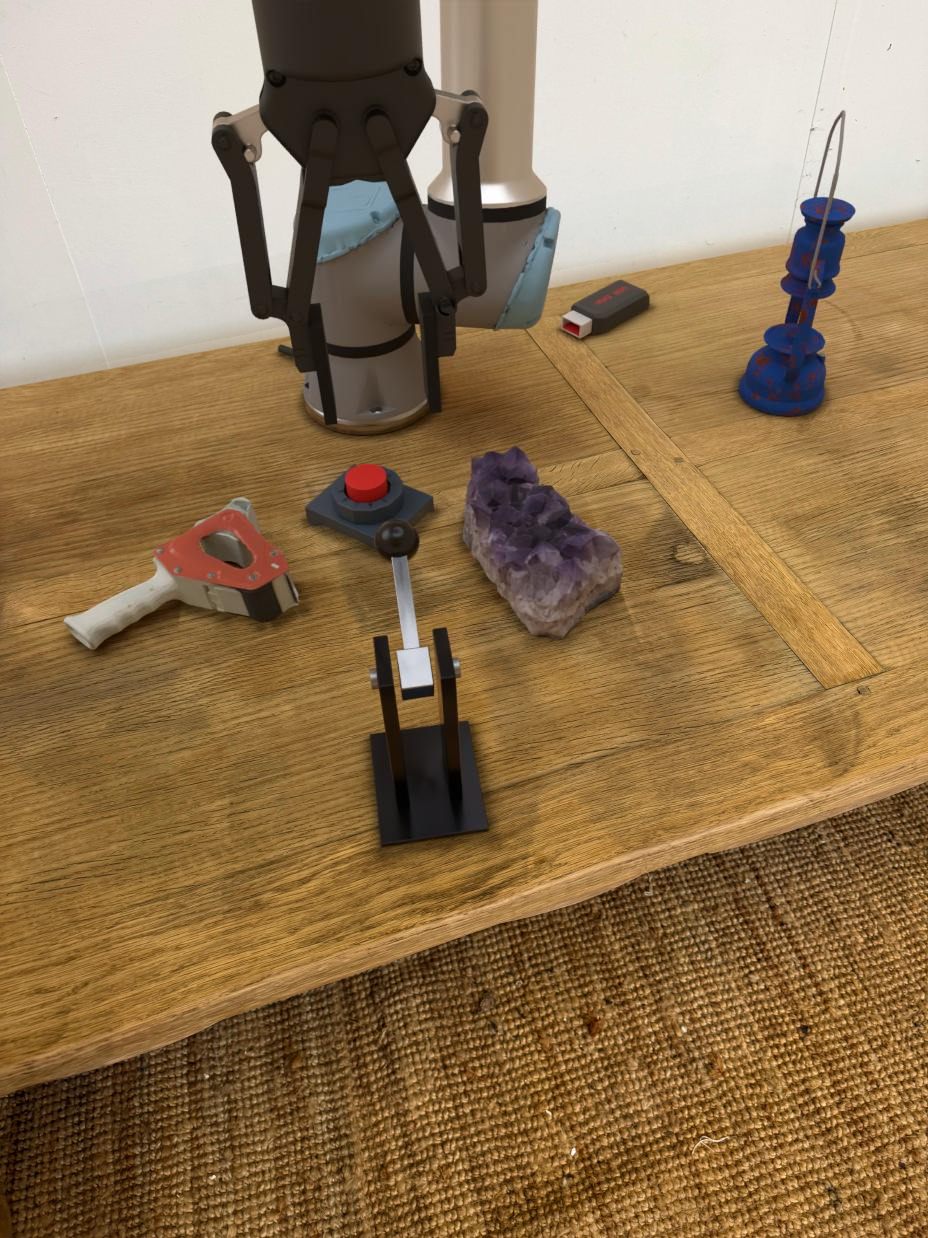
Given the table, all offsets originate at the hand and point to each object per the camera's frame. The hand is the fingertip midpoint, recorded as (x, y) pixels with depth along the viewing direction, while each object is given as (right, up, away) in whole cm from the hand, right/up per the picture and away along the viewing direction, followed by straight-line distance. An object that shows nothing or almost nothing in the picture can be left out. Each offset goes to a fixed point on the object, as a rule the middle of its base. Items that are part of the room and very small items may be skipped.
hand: (381, 405), depth 58 cm
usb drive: (+23, +25, +62) cm, 70 cm away
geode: (+11, -9, +31) cm, 34 cm away
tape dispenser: (-19, -11, +30) cm, 38 cm away
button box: (-4, -3, +37) cm, 37 cm away
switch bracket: (+2, -26, +15) cm, 30 cm away
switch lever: (+1, -13, +8) cm, 15 cm away
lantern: (+41, +13, +49) cm, 66 cm away
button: (-4, -1, +34) cm, 34 cm away
